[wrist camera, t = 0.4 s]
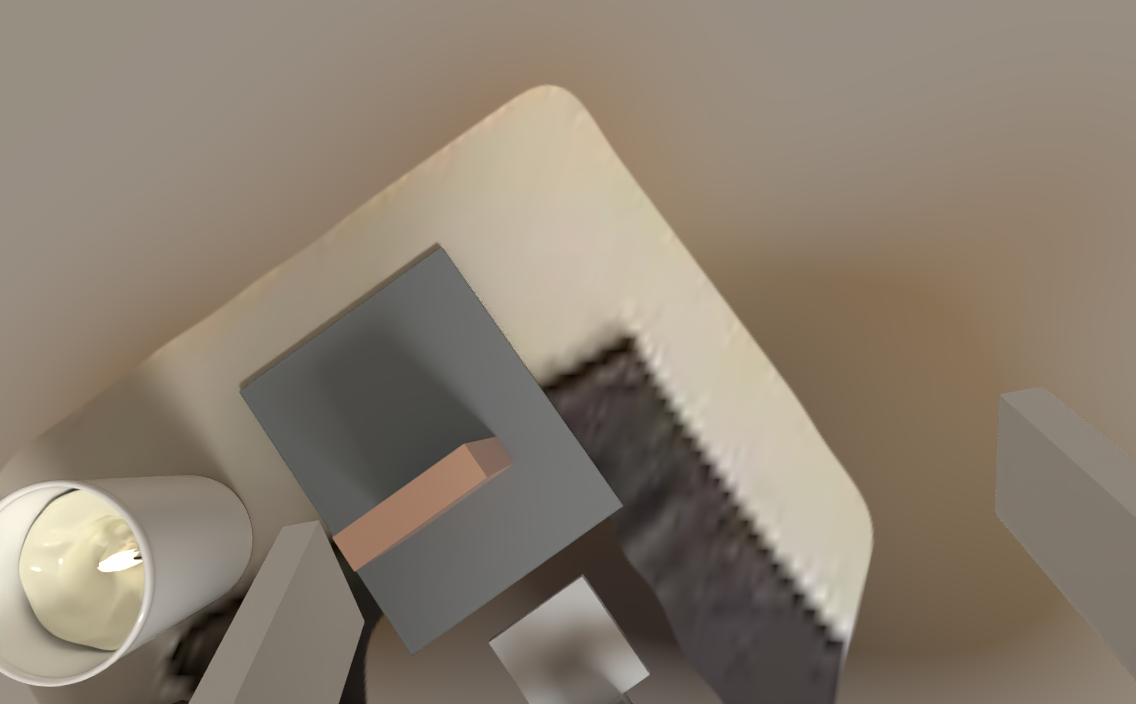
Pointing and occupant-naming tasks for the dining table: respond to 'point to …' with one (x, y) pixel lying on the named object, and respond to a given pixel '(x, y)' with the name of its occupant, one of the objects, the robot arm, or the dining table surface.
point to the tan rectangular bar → (422, 500)
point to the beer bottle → (181, 702)
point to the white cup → (110, 568)
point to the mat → (430, 445)
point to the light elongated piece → (570, 651)
